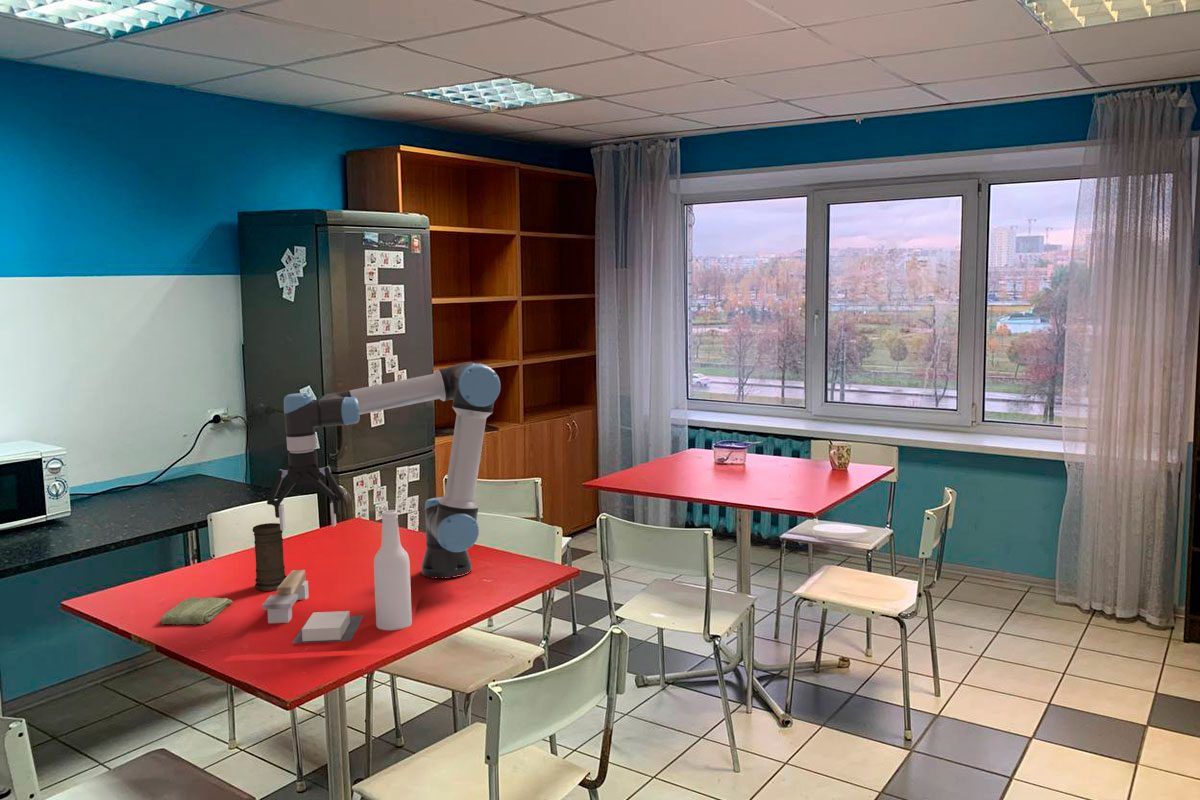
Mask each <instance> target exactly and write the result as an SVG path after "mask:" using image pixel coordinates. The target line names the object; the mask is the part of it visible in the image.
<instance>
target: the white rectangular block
mask: <svg viewBox="0 0 1200 800" xmlns="http://www.w3.org/2000/svg"><path fill="white" fill-rule="evenodd" d="M350 616H351V615H350V610H339V611H322V612H321V611H317V612H315V611H314V612H312V613H311V615H310V617H308V618H309V619H308V618H307V620H308V621H307V620H306V621H307V622H305V623H306V624H305V623H304V624H305V625H304V624H303V626H304V627H303V626H302V627H303V628H302V627H301V629H302V641H304V642H310V641H333V640H341V638H342V636H343V634H344V633H345V631H346V629H347V627H348V625H349V623H350Z"/></svg>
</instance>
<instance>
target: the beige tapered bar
mask: <svg viewBox="0 0 1200 800" xmlns="http://www.w3.org/2000/svg"><path fill="white" fill-rule="evenodd" d="M305 581H307V580H306V570H305V569H297V570H295V569H293V570H291V571H290V572H289V574H287V575H286V578H285V579H284V581H283V582H282V583H281V584H280V585H279V586H278V588H277V590H276V591H277V592H276V594H270V595H269V596H268V597H267V599H265V601H264V602H263V603H262V604H261V608H262V610H267V609H287V608H291V607H292V608H293V606H294V604H295V603H296V602H297V601H298V600H297V599H298V594H295V593H296V592H297V591H298V589H299V588H300V587H301V586H302V584H303V583H304V582H305Z"/></svg>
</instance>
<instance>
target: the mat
mask: <svg viewBox="0 0 1200 800" xmlns="http://www.w3.org/2000/svg"><path fill="white" fill-rule="evenodd" d="M364 616H365V615H350V623H349V625H348V627H347V629H346V631H345V633H344V634H343V636H342V638H341V640H333V641H310V642H304V641H302V628H303V627H304V625H305V624H306V622H307V621H308V619H309V618H310V617H308V618H307V620H306V622H304V624H303V626H302V627H301V629H300V630H299V632H298V633H297V634H296V636H295V638H294V639H293V641H292V642H291V644H305V643H306V644H310V643H332V642H333V643H334V642H351V641H352V640H353V638H354V636H355V634H356V632H357V630H358V628H359V626H360V624H361V622H362V621H363V618H364Z"/></svg>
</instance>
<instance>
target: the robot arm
mask: <svg viewBox="0 0 1200 800" xmlns="http://www.w3.org/2000/svg"><path fill="white" fill-rule="evenodd" d="M500 393H501V380H500V377H499V375H498V374H497V372H496V371H495V370H493V368H491V367H490V366H489V365H487V364H483V363H478V362H473V361H466V362H465V361H464V362H462V363H458V364H455V365H451V366H447V367H443V368H440V369H436V370H435V371H434V373H432V374H431V373H430V374H426V375H421V376H416V377H415V376H414V377H410V378H405V379H401V380H396V381H391V382H385V383H381V384H375V385H371V386H365V387H360V388H355V389H351V390H346V391H340V392H330V393H329V392H328V393H325V394H324V395H323V396H322V397H321V398H320V399H314V397H313V394H312V393H310V392H297V393H290V394H289V393H288V394H287V395H285V396H284V398H283V415H284V416H283V417H284V425H285V434H286V435H285V437H286V438H285V439H286V448H287V449H286V450H287V451H289V452H288V453H287V460H288V469H283V468H279V470H277V471H276V480H275V482H274V484H273V486H272V489H271V492H270V494H269V496H268V498H267V501H266V504H267V505H269V506H270V505H271V506H273V507H274V514H275V517H276V519H279V524H280V530H282V531H284V530H285V529H286V516H285V505H284V504H282V502H283V501H284V499H285V498H286V497H287V495H288V494H289V493H290V491H291V490H292V489H293V487H294V486H295V485H298V486H303V485H307V486H310V485H312V484H313V485H314V486H316V487H317V488H318V489H319V490H320V491H321V492H322V493H323V494H324V495H325V496H326V497H327V498H328V499H330V500H331V501H330V503H329V505H330V506H329V507H330V508H329V510H330V518H331V528H332V527H336V525H337V516H336V514H339V513H340V504H339V502H340V501H343V500H344V498H345V497H346V494H345V493H344V491H343V490H342V488H341V487H340V485H339V483H338V481H337V479H336V478H335V477H334V475H333V474H332V469H331V466H330V465H326V466H325V467H320V466H319V461H318V451H317V450H316V448H317V439H316V428H323V427H334V426H335V427H337V426H348V425H355V424H358V423H359V422H360V419H361V418H360V415H364V414H369V413H376V412H380V411H384V410H385V411H386V410H389V409H394V408H395V409H396V408H400V407H405V406H409V405H414V404H420V403H425V402H429V401H434V400H440V401H442V402H447V401H451V400H452V406H451V407H452V409H453V410H454V413H455V414H456V416H455V423H454V430H453V436H452V441H451V443H452V445H451V451H450V458H449V462H448V463H449V464H448V472H447V478H446V484H445V490H444V491H445V492H444V495H443V496H440V497H438V496H437V497H433V498H429V499H426V501H425V502H424V503H425V504H424V511H425V512H424V516H425V518H424V519H425V539H426V540H425V545H426V547H425V548H426V550H425V551H424V556H423V559H422V563H421V569H420V571H421V575H422V574H423V575H425V576H428V577H427V578H429V577H434V578H433V579H435V577H437V578H442V577H443V578H445V577H453V576H457V575H462V574H465V573H467V572H469V571H470V570H471V569H472V567H473V566H472V560H471V558H470V555H469V552H468V550H469V549H470V548H472V547H473V546H474V545H475V544H476V542H477V540H478V538H479V534H480V533H479V532H480V529H479V523H478V522H477V519H478V513H479V507H480V506H479V505H478V503H477V502H476V500H475V497H476V490H477V485H478V484H477V483H478V476H479V470H480V465H481V463H480V462H481V458H482V457H481V455H482V451H483V443H484V437H485V429H486V424H487V423H486V422H487V418H488V417H489V416H490V415H493V412H494V405H495V402H496V400H497V399H498V397H499V395H500ZM320 473H321V474H322V475H323V476H325V478H326V479H327V481H328V483H329V484H330V486H331V488H332V489H333V491H334V492H335V493H334V492H333V491H332V490H331V489H330V488H329V486H327V485H326V484H325V483H324V481H322V480H321V478H320V477H319V475H320ZM286 476H288V477H289V478H290V479H291V480H290V482H289V483H288V484H287V485H286V487H285V488H284V490H283V491H282V493H280V495H279V497H278V498H277V499H276V497H277V494H278V491H279V489H280V487H281V484H282V482H283V480H284V479H285V478H286ZM472 570H473V569H472ZM423 575H422V576H423ZM425 576H424V577H425Z"/></svg>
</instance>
